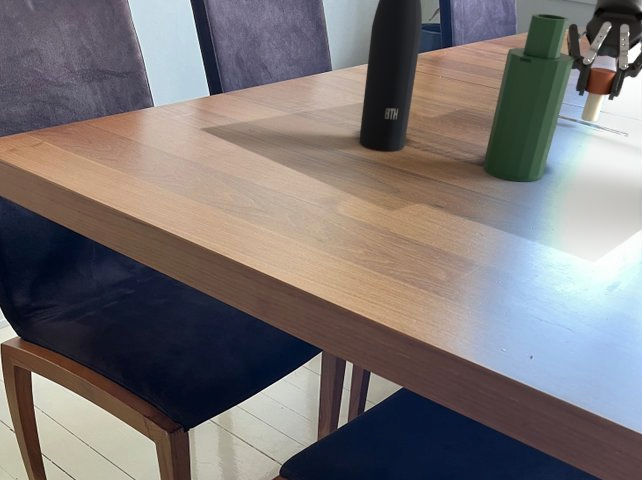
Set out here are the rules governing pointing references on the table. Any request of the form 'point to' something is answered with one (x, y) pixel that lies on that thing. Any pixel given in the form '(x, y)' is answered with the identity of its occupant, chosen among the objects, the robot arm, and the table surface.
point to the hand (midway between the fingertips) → (596, 94)
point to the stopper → (597, 91)
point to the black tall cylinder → (390, 74)
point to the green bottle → (529, 102)
